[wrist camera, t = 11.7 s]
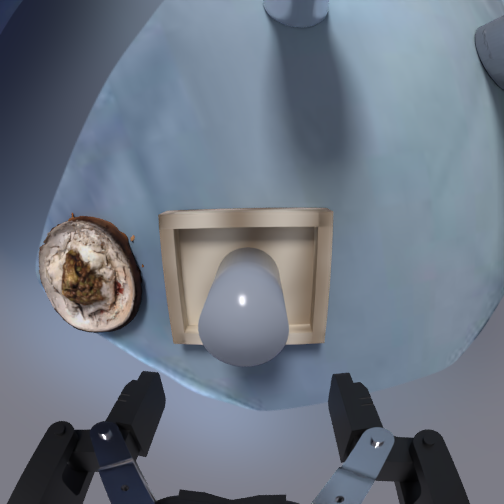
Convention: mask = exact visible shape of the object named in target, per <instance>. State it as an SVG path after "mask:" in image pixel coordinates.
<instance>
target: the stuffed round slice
mask: <svg viewBox="0 0 504 504" xmlns="http://www.w3.org/2000/svg"><path fill="white" fill-rule="evenodd" d="M134 238H135V237H134V235H133V237H131V241H133V240H135V239H134ZM44 243H45V244H44V245H42V246H41V247H40V248H39V249H40V251H39V268H40V270H39V273H40V279H41V283H42V284H43V287H44V289H45V292H46V294H47V296H48V298H49V300H50V301H51V303H52V305H53V307H54V309H55V310H56V312H57V313H59V314H60V316H61V317H62V318H63V319H64V320H65V321H66V322H67V323H68V324H70V325H71V326H73V327H74V328H76V329H78V330H82V331H86V332H94V333H95V332H111V331H116V330H119V329H121V328H123V327H124V326H126V325H127V324H128V323H129V322H131V321H132V320H133V319H134V317H135V316H136V314H137V312H138V309H139V306H140V303H141V296H142V288H141V283H142V279H141V275H140V273H141V272H140V270H139V268H138V266H137V265H136V261H135V259H134V256H133V254H132V252H131V249H130V246H129V243H128V237H127V236H126V235H125V234H124V233H122V232H120V231H119V230H118V228H117V227H115V226H114V225H113V224H112V223H110V222H108V221H105V220H103V219H100V218H95V217H88V216H80V217H73V213H72V218H70V219H69V220H68V221H66V222H65V223H62V224H58V225H57V226H56V227H54V228H52V229H51V231H50V232H49V233H48V236H47V237H46V239H45V241H44ZM142 267H144V265H143V264H142Z"/></svg>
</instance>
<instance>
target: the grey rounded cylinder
mask: <svg viewBox="0 0 504 504" xmlns="http://www.w3.org/2000/svg"><path fill="white" fill-rule="evenodd" d="M198 332H199V336H200V339H201V341H202V343H203V345H204V347H205V348H206V349H207V351H208V352H209V353H210V354H211V355H213V356H214V357H215V358H217V359H218V360H220V361H222V362H224V363H227V364H230V365H234V366H241V367H249V366H256V365H260V364H263V363H265V362H267V361H269V360H271V359H273V358H274V357H275V356H276V355H278V354H279V353H280V351H281V350H282V349H283V347H284V346H285V344H286V342H287V339H288V335H289V324H288V318H287V312H286V307H285V301H284V296H283V290H282V285H281V280H280V274H279V269H278V267H277V264H276V262H275V261H274V260H273V258H272V257H271V256H270V255H268V254H267V253H266V252H264V251H262V250H260V249H257V248H251V247H245V248H239V249H236V250H234V251H232V252H230V253H229V254H227V255H226V256H225V257H224V258H223V259H222V261H221V263H220V265H219V267H218V269H217V272H216V275H215V277H214V280H213V283H212V285H211V288H210V290H209V293H208V296H207V298H206V301H205V304H204V307H203V309H202V312H201V315H200V318H199V322H198Z"/></svg>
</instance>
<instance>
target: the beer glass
mask: <svg viewBox="0 0 504 504" xmlns="http://www.w3.org/2000/svg"><path fill="white" fill-rule="evenodd" d="M263 4H264V7H265V10H266V11H267V13H268V14H269V15H270V16H271V17H272V18H273V19H274V20H276V21H277V22H279V23H281V24H284V25H287V26H290V27H297V28H305V27H311V26H314V25H316V24H318V23H320V22H321V21H322V20H323V19H324V18H325V17H326V15H327V13H328V8H329V0H263Z"/></svg>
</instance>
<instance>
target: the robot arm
mask: <svg viewBox="0 0 504 504" xmlns="http://www.w3.org/2000/svg"><path fill="white" fill-rule="evenodd" d="M475 42H476V48H477V51H478V54H479V57H480V59H481V61H482V63H483V65H484V67H485V69H486V70H487V72H488V73H489V75H490V76H491V78H492V79H493V80H494V81H495V83H496V84H497V85H498V86H499V87H501V88H502V89H503V90H504V15H503V16H501V17H499V18H497V19H495V20H493V21H491V22H489V23H487V24H485V25H483V26H481V27H479V28H478V29H477V31H476V34H475ZM165 401H166V400H165V393H164V390H163V386H162V382H161V379H160V375H159V373H158V372H157V373H156V372H148V371H143V372H142V373H141V375H140V376H139V378H138V380H132V381H131V382H129V383H128V384H127V385H126V386H125V387H124V389H123V391H122V392H121V395H120V396H119V398H118V401H116V403H115V405H114V407H113V408H112V410H111V412H110V414H109V416H108V418H107V419H106V421H102V422H99V423H97V424H95V425H94V426H93V427H92V428H91V430H74V428H73V426H72V425H71V424H70V423H68V422H65V421H59V422H56V423H54V424H52V425H51V426H50V427H49V428H48V430H47V432H46V433H45V435H44V437H43V438H42V440H41V442H40V443H39V445H38V447H37V449H36V451H35V452H34V454H33V456H32V458H31V459H30V461H29V463H28V464H27V466H26V468H25V470H24V472H23V474H22V475H21V477H20V479H19V481H18V483H17V485H16V487H15V489H14V491H13V493H12V495H11V497H10V499H9V501H8V503H7V504H83V501H84V498H85V496H86V493H87V491H88V488H89V485H90V483H91V480H92V477H93V475H94V472H99V474H100V477H101V479H102V482H103V485H104V487H105V490H106V492H107V495H108V497H109V500H110V502H111V504H299V503H296V502H292V501H286V495H258V496H253V497H247V498H241V499H235V500H229V499H226V498H222V497H218V496H215V495H212V494H208V493H205V492H196V491H187V490H180V491H179V495H178V496H170V497H166V498H163V499H160V500H158V501H157V499H156V498H155V496H154V495H153V493H152V491H151V490H150V488H149V486H148V484H147V482H146V480H145V478H144V476H143V475H142V472H141V471H140V469H139V466H138V464H137V462H136V459H137V457H138V456H143V457H146V456H147V454H148V451H149V448H150V445H151V443H152V440H153V437H154V434H155V432H156V429H157V426H158V424H159V421H160V418H161V416H162V413H163V410H164V408H165ZM328 406H329V412H330V416H331V420H332V425H333V429H334V433H335V438H336V442H337V446H338V451H339V455H340V460H341V463H342V462H344V464H343V465H342V467H339V468H338V469H337V470H336V472H335V473H334V474H333V476H332V477H331V478H330V480H329V481H328V482H327V484H326V485H325V486H324V488H323V489H322V490H321V492H320V493H319V494H318V496H317V497H316V498H315V499H314V500H313V502H312V503H311V504H361V503H362V501H363V500H364V498H365V496H366V495H367V493H368V491H369V490H370V488H371V486H372V485H373V483H374V481H375V480H376V481H394V482H395V486H396V490H397V495H398V499H399V503H400V504H470V503H469V500H468V497H467V495H466V492H465V489H464V487H463V484H462V482H461V479H460V477H459V474H458V472H457V469H456V467H455V465H454V462H453V460H452V458H451V455H450V453H449V451H448V449H447V446H446V444H445V442H444V440H443V437H442V436H441V435H440V434H439V433H438V432H436V431H434V430H422V431H420V432H419V433H417V434H416V435H415V437H414V438H405V437H396V436H393V434H392V433H391V432H390V431H388V430H387V429H385V428H383V426H382V423H381V421H380V418H379V416H378V413H377V411H376V408H375V406H374V404H373V401H372V399H371V396H370V394H369V391H368V389H367V388H366V387H365V386H364V385H363V384H362V383H361V382H357V383H353V381H352V378H351V375H350V373H340V374H333V375H332V380H331V386H330V392H329V399H328Z"/></svg>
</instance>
